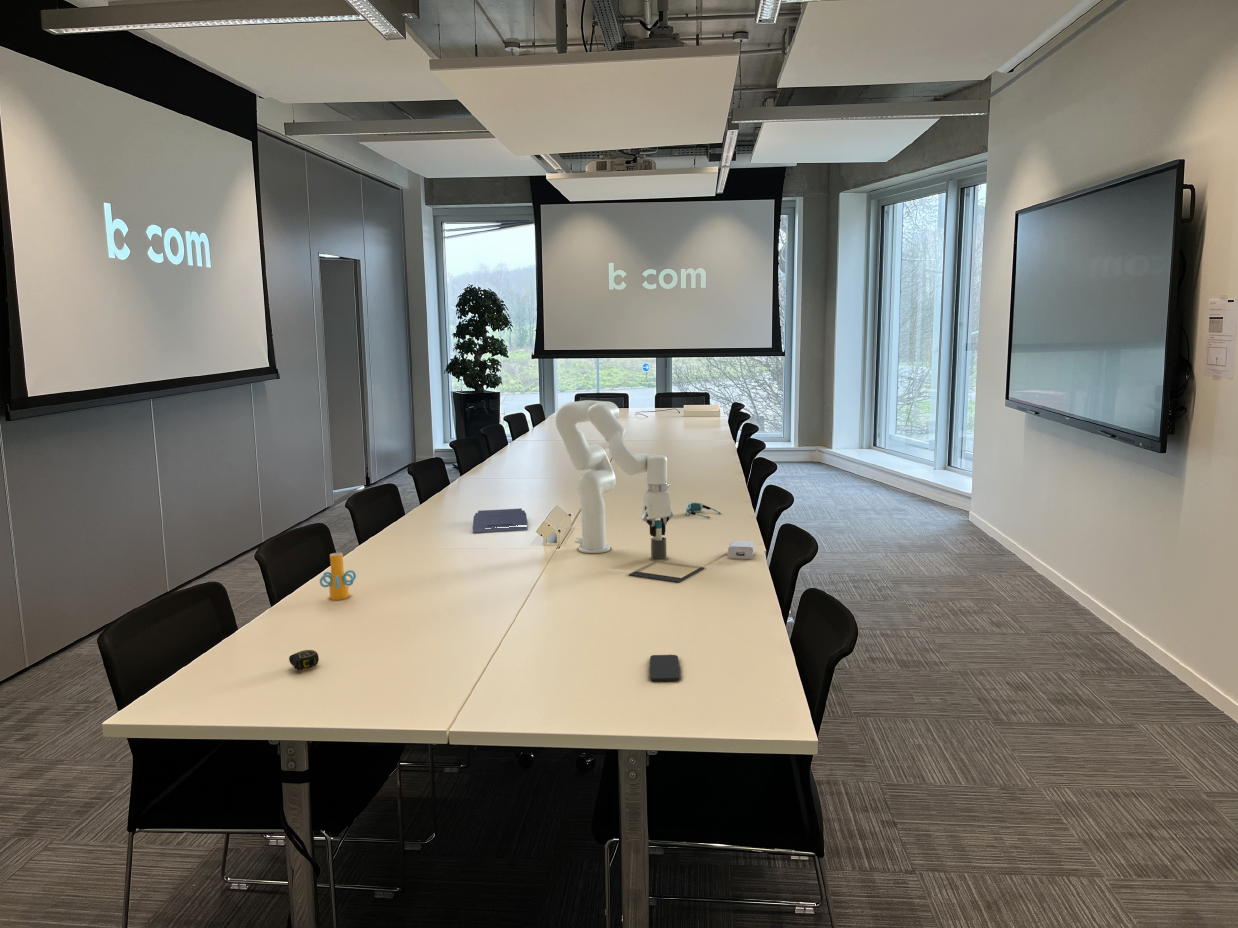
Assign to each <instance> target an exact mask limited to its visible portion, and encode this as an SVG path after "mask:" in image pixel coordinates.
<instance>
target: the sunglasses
mask: <svg viewBox="0 0 1238 928" xmlns="http://www.w3.org/2000/svg"><path fill="white" fill-rule="evenodd" d="M703 509H705V510H708V511H710V510H712V511H714V512H716V513H717V514H719V515H721V514H722V513H721V512H720V511H718V510H717V509H715V508H713V507H711V506H709V505H705V504H704V503H701V502H695V501H693V502H688V503H687V504H686V509H685V513H686V514H685V515H686V516H689V514H690V515H692V516H698V517H702V518H707V519H710V518H711V516H708V515H703V514H700V513H698V512H701V511H702V510H703Z"/></svg>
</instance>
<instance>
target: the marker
mask: <svg viewBox="0 0 1238 928" xmlns="http://www.w3.org/2000/svg"><path fill="white" fill-rule="evenodd" d="M655 526H656V537H653V536H652V538H653V540H662V537H663V535H662V521H661V520H660V519H655Z"/></svg>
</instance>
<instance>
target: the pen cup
mask: <svg viewBox="0 0 1238 928" xmlns="http://www.w3.org/2000/svg"><path fill="white" fill-rule="evenodd" d="M667 553H668V552H667V538H666V536H665V537H663V536H662V540H653V537H651V538H650V558H651V560H656V561H661V560H666V559H667V557H668V554H667Z"/></svg>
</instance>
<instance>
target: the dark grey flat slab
mask: <svg viewBox="0 0 1238 928" xmlns="http://www.w3.org/2000/svg"><path fill="white" fill-rule="evenodd" d="M516 525H517V526H518V525H528V517H527V512H526V511H525V510H523V508H522V507H521V508H506V509H505V508H504V509H503V508H501V509H484V510H478V511H477V512H475V514H474V515H473V521H472V533H473V534H474V533H483V532H484V533H486V532H488V533H489V532H501V531H502V532H503V531H524V530H525V531H526V530H528V527H529V525H528V526H527V527H509V526H516ZM495 527H496V528H495ZM497 527H509V528H497ZM485 528H491V529H485Z"/></svg>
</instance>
